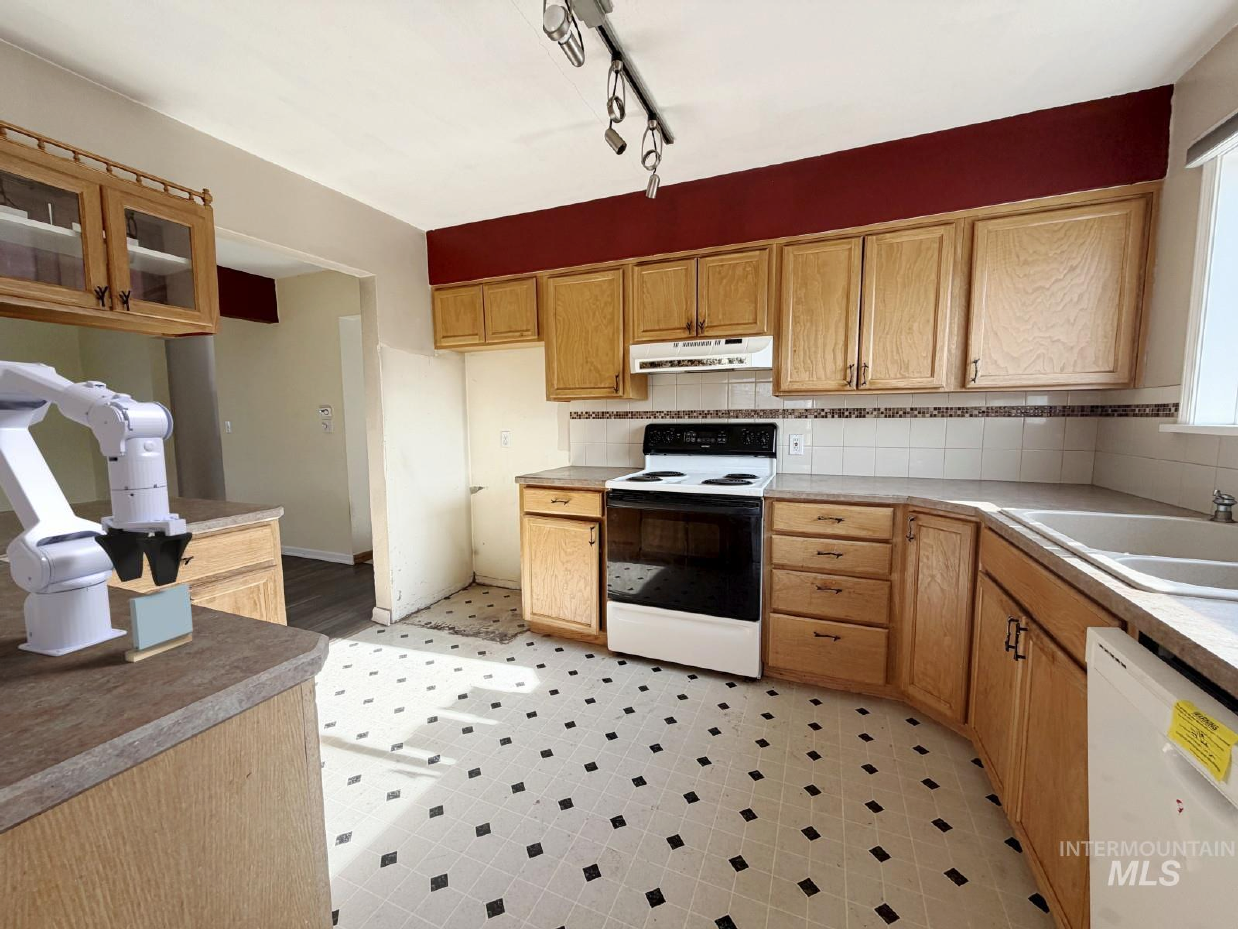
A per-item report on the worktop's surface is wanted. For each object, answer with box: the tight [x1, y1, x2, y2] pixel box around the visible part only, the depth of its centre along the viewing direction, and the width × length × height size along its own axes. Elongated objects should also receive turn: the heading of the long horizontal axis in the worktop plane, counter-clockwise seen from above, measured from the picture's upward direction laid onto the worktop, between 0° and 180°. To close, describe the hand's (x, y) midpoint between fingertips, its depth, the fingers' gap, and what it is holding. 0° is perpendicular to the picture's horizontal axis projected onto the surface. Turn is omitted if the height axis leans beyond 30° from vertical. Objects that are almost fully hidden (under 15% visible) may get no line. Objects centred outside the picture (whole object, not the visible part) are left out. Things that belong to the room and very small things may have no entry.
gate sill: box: [124, 632, 193, 663], centre depth 70 cm, size 2×7×1 cm, turn 163°
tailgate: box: [128, 583, 194, 652], centre depth 69 cm, size 1×6×7 cm, turn 163°
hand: (148, 582), depth 70 cm, fingers open, 7 cm apart
